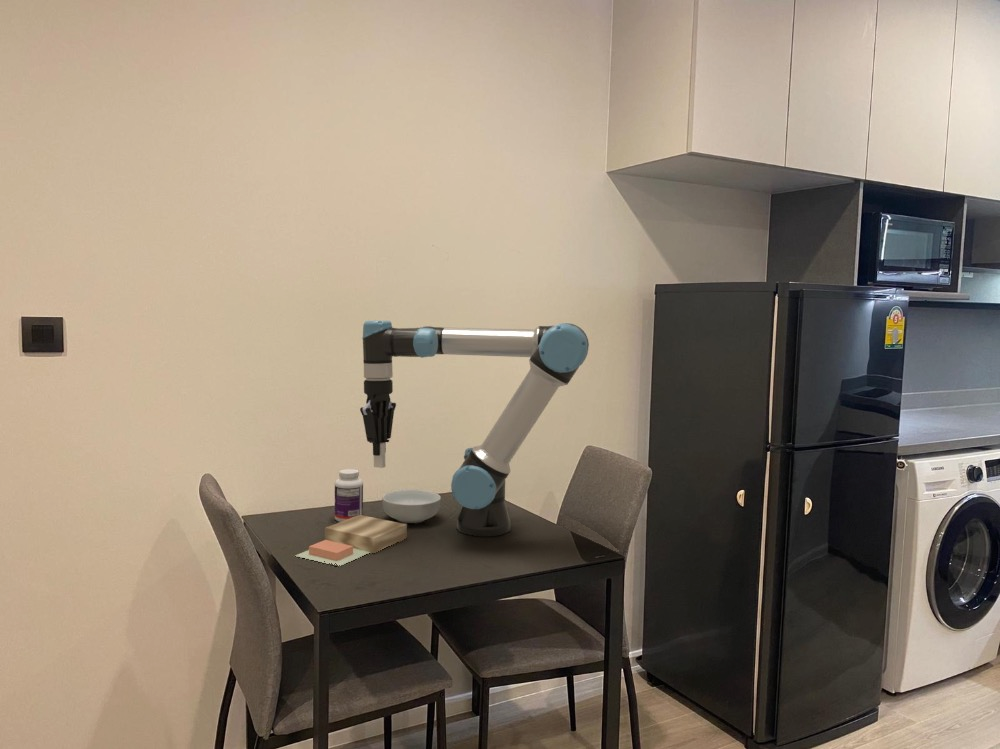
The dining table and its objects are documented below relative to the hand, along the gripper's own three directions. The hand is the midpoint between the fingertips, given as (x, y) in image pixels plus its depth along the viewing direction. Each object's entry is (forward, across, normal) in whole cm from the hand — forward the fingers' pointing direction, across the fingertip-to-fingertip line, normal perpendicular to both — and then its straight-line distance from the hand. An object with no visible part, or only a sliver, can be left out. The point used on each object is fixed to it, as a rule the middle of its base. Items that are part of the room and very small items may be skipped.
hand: (379, 466), depth 193 cm
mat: (+19, +18, -2) cm, 26 cm away
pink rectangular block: (+17, +18, -2) cm, 25 cm away
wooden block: (+19, +5, -1) cm, 20 cm away
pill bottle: (+19, -8, -17) cm, 27 cm away
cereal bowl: (+20, -17, -2) cm, 26 cm away
